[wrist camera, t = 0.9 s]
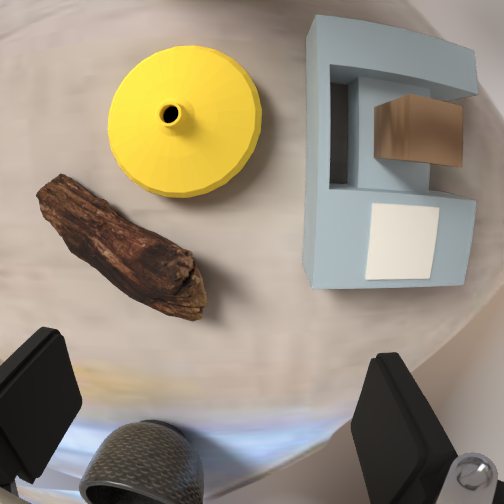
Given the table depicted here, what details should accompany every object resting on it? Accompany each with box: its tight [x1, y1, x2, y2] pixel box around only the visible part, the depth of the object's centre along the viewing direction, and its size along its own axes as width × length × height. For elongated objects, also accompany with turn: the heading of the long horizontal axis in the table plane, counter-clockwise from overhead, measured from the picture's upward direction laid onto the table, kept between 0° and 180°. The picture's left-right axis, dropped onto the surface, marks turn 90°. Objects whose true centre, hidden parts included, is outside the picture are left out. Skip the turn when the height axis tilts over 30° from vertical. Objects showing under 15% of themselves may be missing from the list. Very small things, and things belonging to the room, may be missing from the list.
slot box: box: [302, 14, 479, 289], centre depth 28 cm, size 25×17×7 cm
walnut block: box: [374, 94, 463, 167], centre depth 24 cm, size 5×5×8 cm
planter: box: [79, 420, 204, 504], centre depth 37 cm, size 17×17×16 cm
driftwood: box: [36, 174, 207, 321], centre depth 32 cm, size 23×8×8 cm, turn 63°
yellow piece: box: [108, 46, 262, 198], centre depth 28 cm, size 16×16×7 cm
